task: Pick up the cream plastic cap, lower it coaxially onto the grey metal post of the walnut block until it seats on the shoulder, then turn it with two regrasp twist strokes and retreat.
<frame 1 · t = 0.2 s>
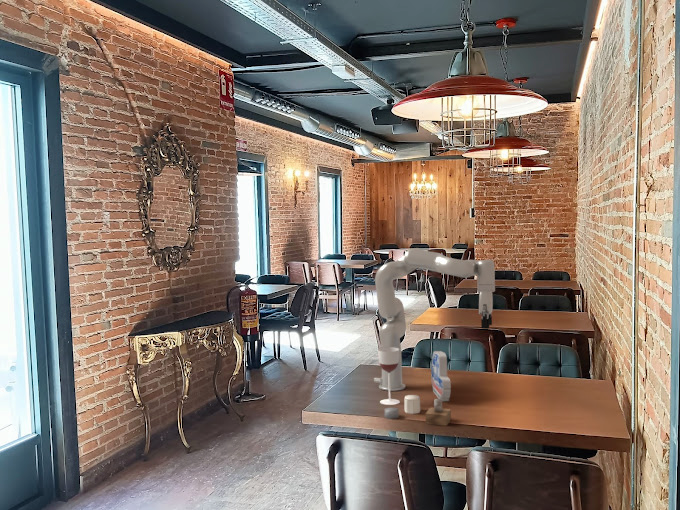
hand: (486, 326, 254), 31 cm above the table, fingers open, 9 cm apart
post base: (438, 421, 222), on the table
cream cap: (412, 411, 236), on the table
wineglass: (389, 402, 250), on the table
decorative sign: (440, 396, 256), on the table
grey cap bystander: (391, 417, 230), on the table
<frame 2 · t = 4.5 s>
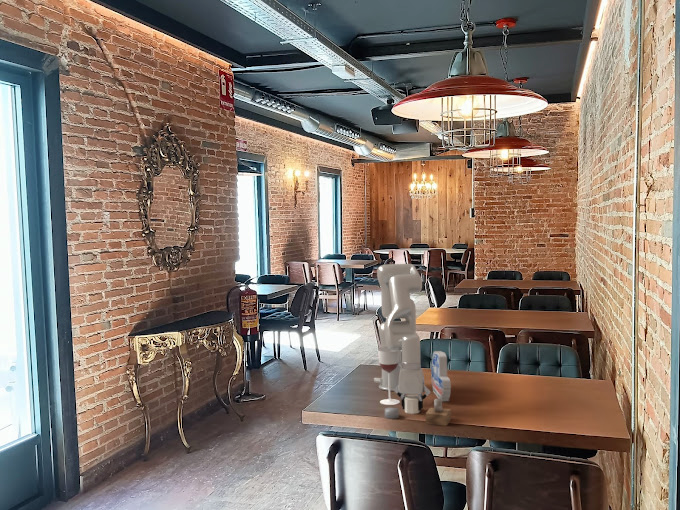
hand: (412, 408, 236), 1 cm above the table, fingers closed on cream cap, 6 cm apart
cream cap: (412, 411, 236), on the table, touching gripper
everything else where it was.
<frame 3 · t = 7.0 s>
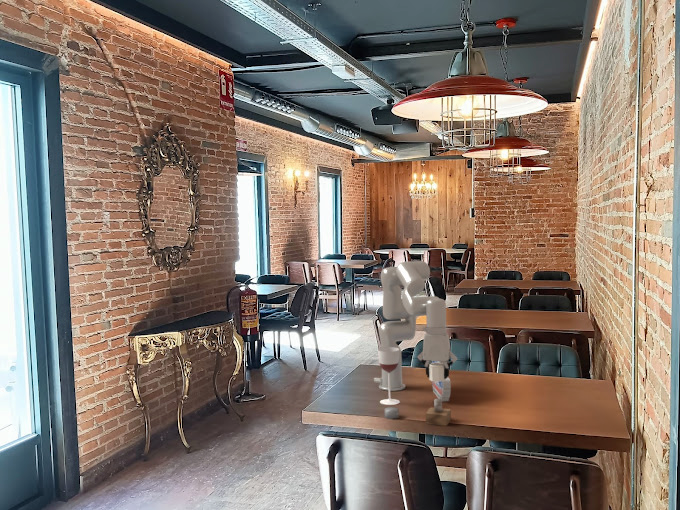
hand: (437, 376, 222), 17 cm above the table, fingers closed on cream cap, 6 cm apart
cream cap: (437, 379, 222), point 16 cm above the table, touching gripper
everything else where it was.
when the fingers open (6 cm above the table, at t = 9.4 s): cream cap drops 1 cm, resting on post base.
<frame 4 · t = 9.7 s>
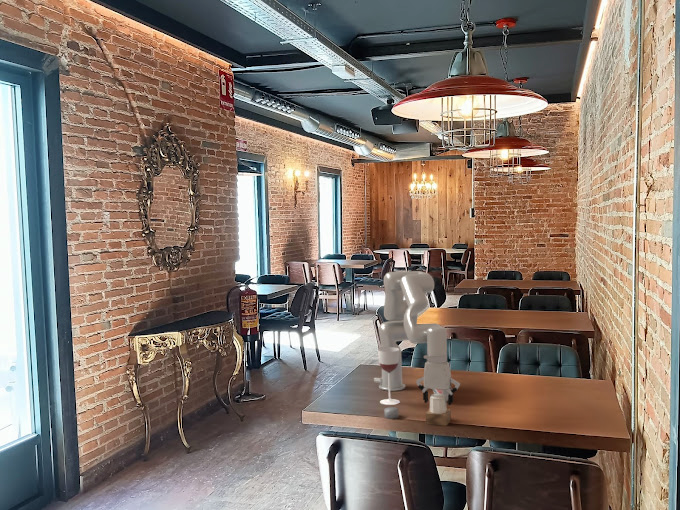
hand: (438, 403, 222), 7 cm above the table, fingers open, 9 cm apart
cream cap: (438, 411, 222), point 4 cm above the table, touching post base
everything else where it was.
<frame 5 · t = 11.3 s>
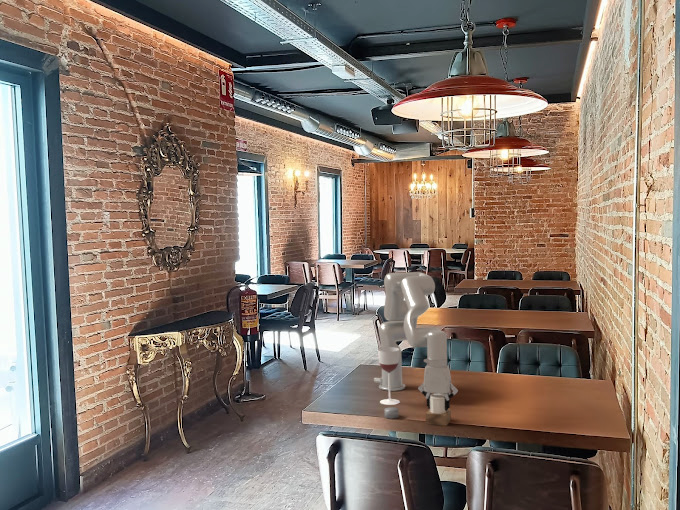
hand: (438, 408, 222), 5 cm above the table, fingers closed on cream cap, 6 cm apart
cream cap: (438, 411, 222), point 4 cm above the table, touching gripper, post base
everything else where it was.
when the fingers open (5 cm above the table, at t = 12.5 s): cream cap stays where it is, resting on post base.
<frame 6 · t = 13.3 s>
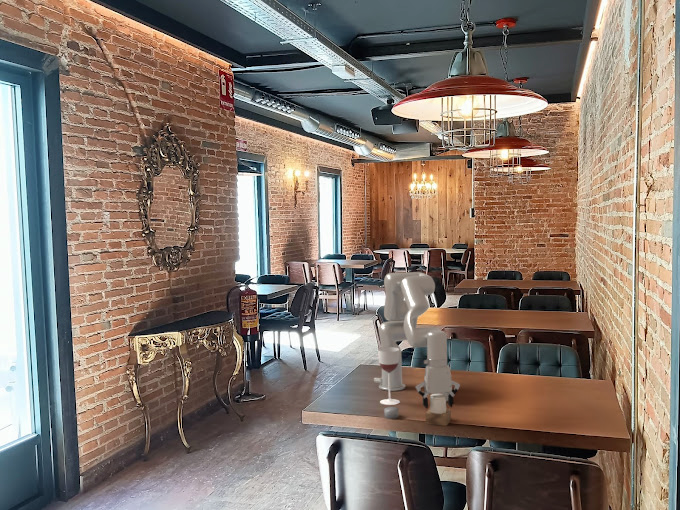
hand: (438, 406, 222), 6 cm above the table, fingers open, 9 cm apart
cream cap: (438, 411, 222), point 4 cm above the table, touching post base
everything else where it was.
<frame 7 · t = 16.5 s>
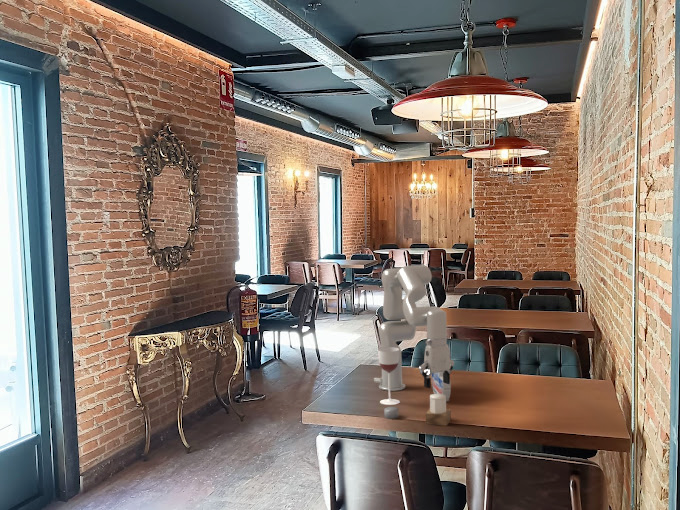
hand: (437, 385, 222), 14 cm above the table, fingers open, 9 cm apart
nothing on the table moved.
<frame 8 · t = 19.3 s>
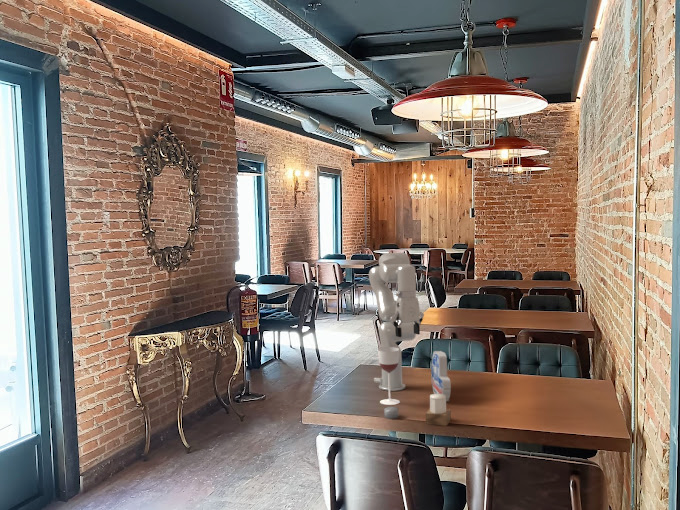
hand: (407, 335, 241), 30 cm above the table, fingers open, 9 cm apart
nothing on the table moved.
at the end: cream cap 0.1 cm off-centre on the post base, point 4.0 cm above the post base's base; cream cap tilted 0°; the gripper is holding nothing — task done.
